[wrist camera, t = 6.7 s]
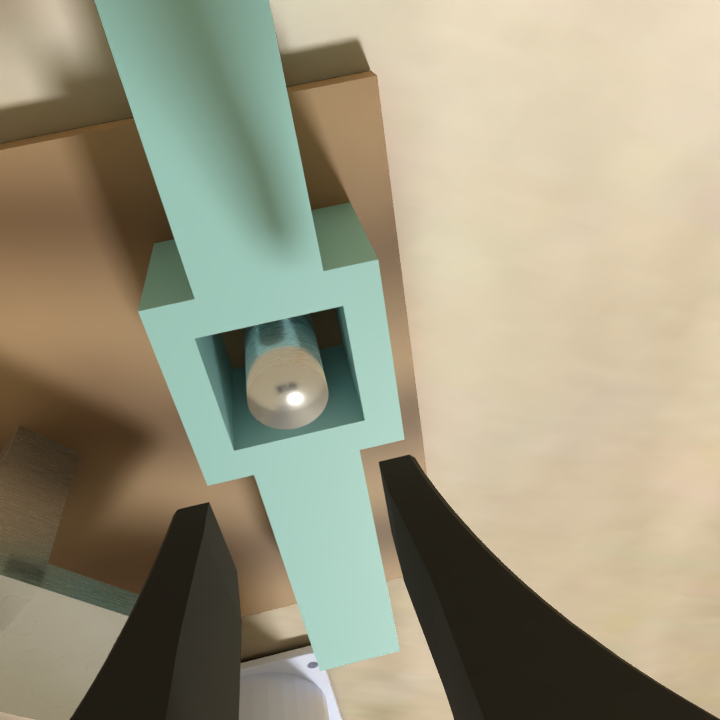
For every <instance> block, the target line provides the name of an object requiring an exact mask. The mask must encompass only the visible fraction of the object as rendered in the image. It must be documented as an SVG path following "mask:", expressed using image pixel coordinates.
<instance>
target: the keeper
mask: <svg viewBox="0 0 720 720" xmlns="http://www.w3.org/2000/svg"><path fill="white" fill-rule="evenodd" d="M78 456H79V452H78V451H76V450H74V449H71V448H69V447H67V446H65V445H62V444H60V443H58V442H56V441H53V440H51V439H49V438H46V437H44V436H42V435H40V434H37V433H35V432H33V431H31V430H28V429H26V428H24V427H21V426H19V427H18V429H17V430H16V431H15V433H14V434H13V435H12V437H11V438H10V439H9V441H8V442H7V444H6V445H5V446H4V448H3V449H2V450H1V452H0V712H4V713H9V714H13V715H18V716H22V717H27V718H31V719H35V720H70V718H71V717H72V715H73V713H74V712H75V710H76V709H77V707H78V706H79V704H80V702H81V701H82V699H83V698H84V696H85V694H86V693H87V691H88V689H89V688H90V686H91V684H92V683H93V681H94V679H95V678H96V676H97V674H98V673H99V671H100V669H101V667H102V666H103V664H104V662H105V660H106V658H107V657H108V655H109V653H110V651H111V649H112V647H113V645H114V644H115V642H116V640H117V638H118V636H119V634H120V632H121V630H122V629H123V627H124V625H125V623H126V621H127V619H128V617H129V615H130V613H131V611H132V609H133V607H134V605H135V603H136V601H137V598H138V596H139V595H138V594H135V593H132V592H129V591H127V590H124V589H121V588H118V587H115V586H112V585H109V584H106V583H103V582H100V581H98V580H95V579H92V578H89V577H86V576H83V575H80V574H77V573H74V572H71V571H69V570H66V569H63V568H60V567H57V566H54V565H51V564H48V561H49V557H50V554H51V550H52V547H53V543H54V540H55V536H56V533H57V529H58V526H59V522H60V519H61V515H62V512H63V508H64V505H65V501H66V498H67V494H68V491H69V487H70V484H71V480H72V477H73V473H74V470H75V466H76V463H77V459H78Z"/></svg>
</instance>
